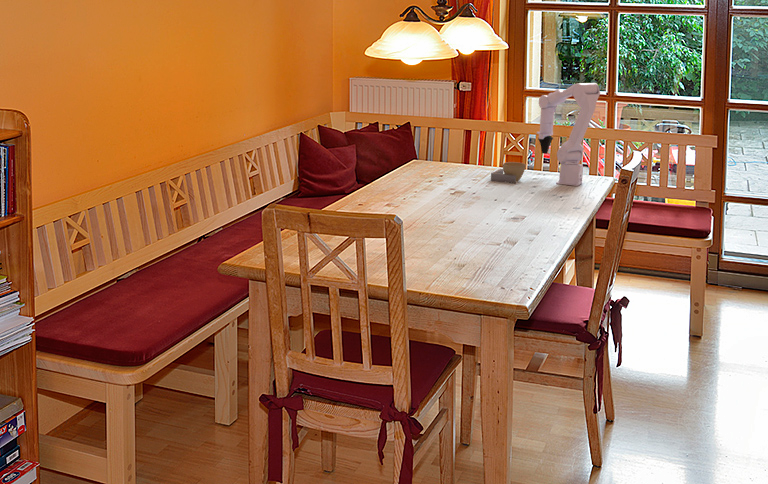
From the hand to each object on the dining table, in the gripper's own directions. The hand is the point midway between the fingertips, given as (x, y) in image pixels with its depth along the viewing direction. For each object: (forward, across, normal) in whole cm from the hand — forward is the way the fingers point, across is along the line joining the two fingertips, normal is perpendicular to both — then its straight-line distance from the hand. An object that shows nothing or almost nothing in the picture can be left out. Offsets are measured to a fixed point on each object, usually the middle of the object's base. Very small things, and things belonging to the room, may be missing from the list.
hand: (544, 153), depth 369 cm
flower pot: (+11, +16, -8) cm, 21 cm away
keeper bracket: (+10, +17, -11) cm, 23 cm away
